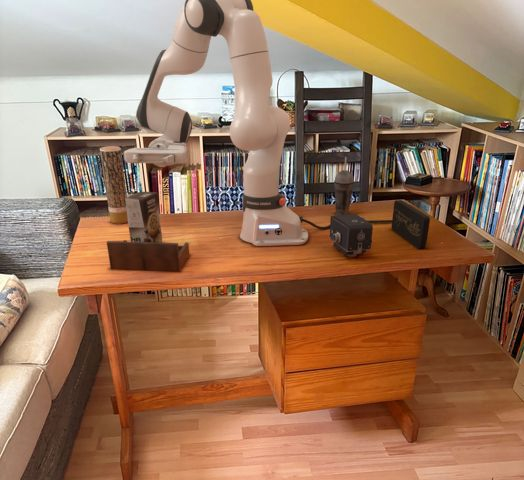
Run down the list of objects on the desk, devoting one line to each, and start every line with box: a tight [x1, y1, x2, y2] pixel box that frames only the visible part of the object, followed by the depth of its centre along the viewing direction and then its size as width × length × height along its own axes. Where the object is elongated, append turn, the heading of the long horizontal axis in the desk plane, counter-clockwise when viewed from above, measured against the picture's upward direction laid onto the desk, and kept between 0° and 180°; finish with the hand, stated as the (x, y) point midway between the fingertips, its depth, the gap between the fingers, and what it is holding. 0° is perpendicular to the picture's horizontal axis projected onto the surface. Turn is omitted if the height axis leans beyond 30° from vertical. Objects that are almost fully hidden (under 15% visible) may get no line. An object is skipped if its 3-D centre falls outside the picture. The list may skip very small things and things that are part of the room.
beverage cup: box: [333, 156, 355, 215], centre depth 195 cm, size 7×7×20 cm
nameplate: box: [390, 199, 431, 250], centre depth 173 cm, size 21×2×10 cm, turn 13°
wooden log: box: [99, 145, 128, 225], centre depth 186 cm, size 7×7×25 cm
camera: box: [328, 213, 374, 258], centre depth 162 cm, size 11×11×15 cm
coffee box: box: [125, 191, 164, 243], centre depth 166 cm, size 9×6×16 cm
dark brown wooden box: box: [106, 240, 190, 273], centre depth 156 cm, size 20×13×8 cm, turn 84°
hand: (150, 160), depth 168 cm, fingers open, 8 cm apart
